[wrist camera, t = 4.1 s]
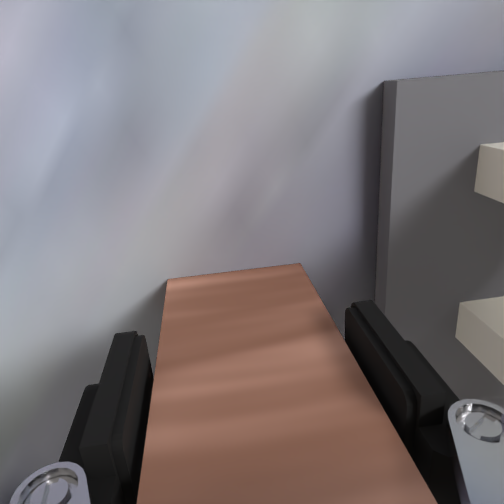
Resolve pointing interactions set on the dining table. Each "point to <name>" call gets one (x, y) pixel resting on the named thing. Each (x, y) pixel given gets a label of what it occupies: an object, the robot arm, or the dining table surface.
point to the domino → (265, 402)
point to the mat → (440, 218)
